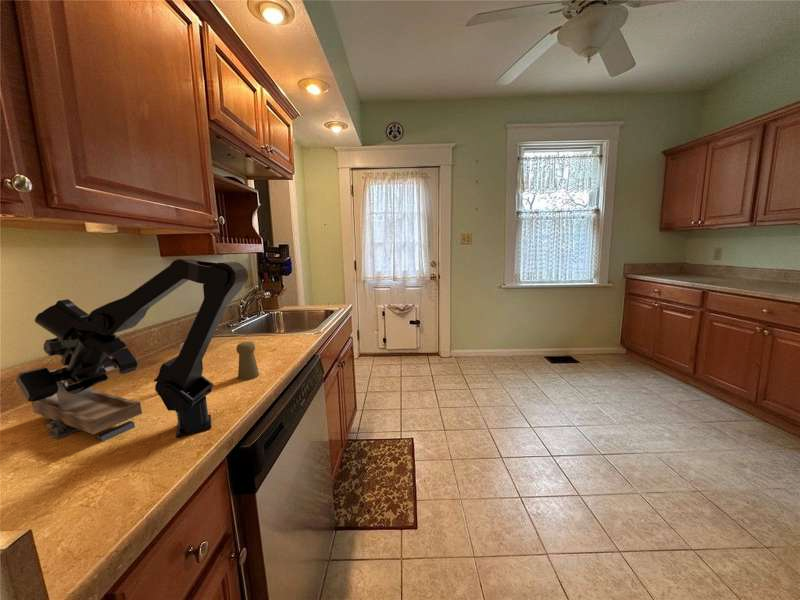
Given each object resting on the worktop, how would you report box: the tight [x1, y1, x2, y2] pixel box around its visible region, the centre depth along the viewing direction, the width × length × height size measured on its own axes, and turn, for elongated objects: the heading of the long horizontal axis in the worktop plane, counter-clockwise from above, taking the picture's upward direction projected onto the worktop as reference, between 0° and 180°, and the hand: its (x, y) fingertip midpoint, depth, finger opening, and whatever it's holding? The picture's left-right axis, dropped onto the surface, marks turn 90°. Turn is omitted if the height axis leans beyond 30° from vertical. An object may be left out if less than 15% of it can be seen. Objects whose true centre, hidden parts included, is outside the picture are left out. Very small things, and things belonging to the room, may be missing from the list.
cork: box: [236, 341, 260, 381], centre depth 99 cm, size 6×6×11 cm
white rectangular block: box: [46, 366, 94, 409], centre depth 76 cm, size 6×6×8 cm
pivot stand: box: [44, 416, 136, 443], centre depth 74 cm, size 25×13×3 cm, turn 67°
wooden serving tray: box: [31, 389, 143, 435], centre depth 74 cm, size 26×9×3 cm, turn 67°
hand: (75, 392), depth 74 cm, fingers closed, pressing on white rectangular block
